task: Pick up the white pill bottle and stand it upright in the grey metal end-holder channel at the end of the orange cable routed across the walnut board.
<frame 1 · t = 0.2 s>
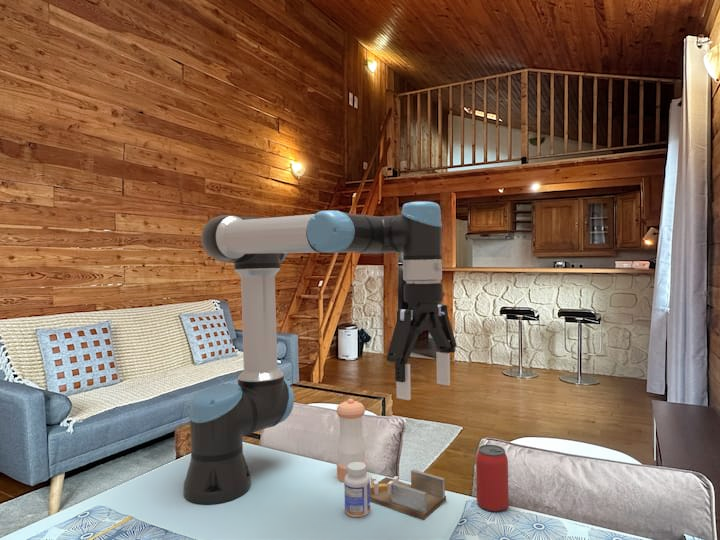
hand: (424, 391, 93), 27 cm above the table, fingers open, 13 cm apart
end holder: (418, 504, 103), resting on route board
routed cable: (382, 485, 108), on the route board, point 2 cm above the table
pepper shaker: (351, 477, 117), on the table
route board: (403, 499, 106), on the table
pill bottle: (357, 512, 101), on the table
beer can: (492, 505, 102), on the table
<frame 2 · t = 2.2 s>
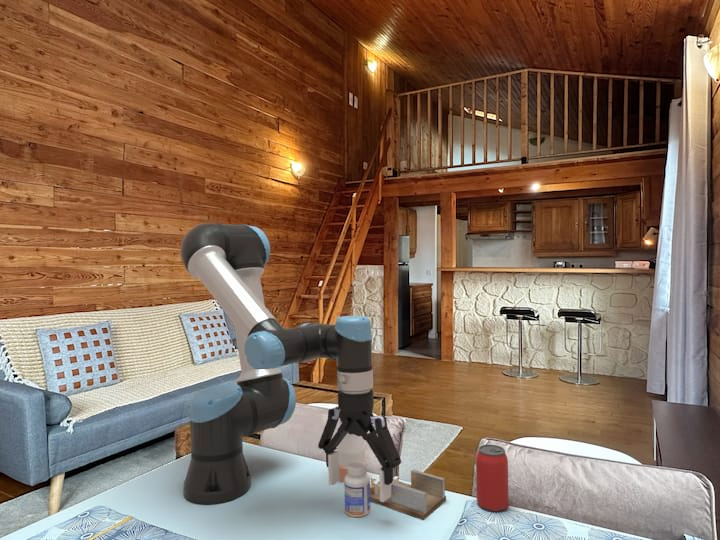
hand: (358, 490, 100), 4 cm above the table, fingers open, 13 cm apart
nothing on the table moved.
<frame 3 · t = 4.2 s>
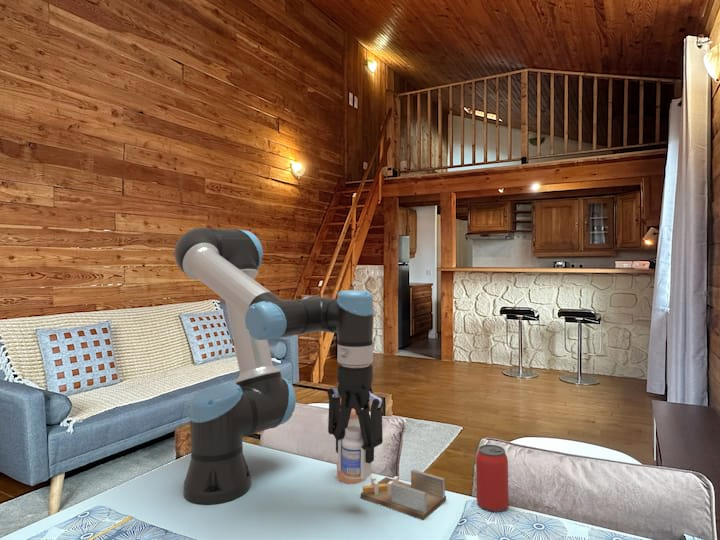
hand: (354, 472, 101), 8 cm above the table, fingers closed on pill bottle, 5 cm apart
pill bottle: (354, 475, 101), point 7 cm above the table, touching gripper
everything else where it was.
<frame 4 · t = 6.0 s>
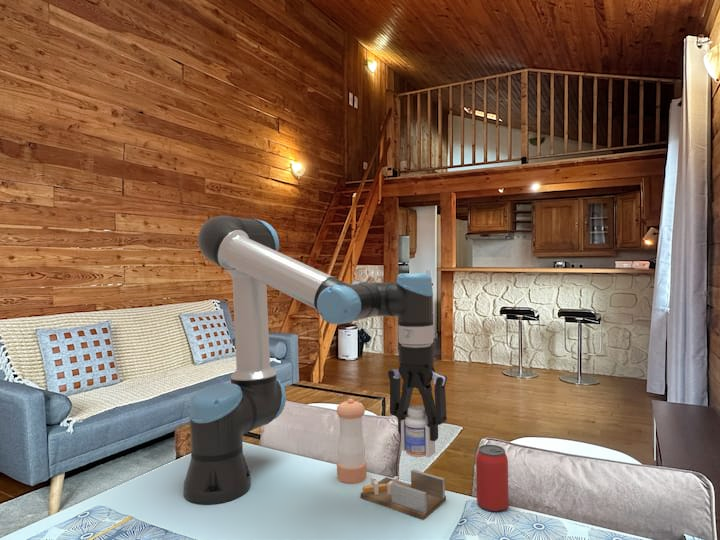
hand: (418, 451, 103), 11 cm above the table, fingers closed on pill bottle, 5 cm apart
pill bottle: (418, 453, 103), point 11 cm above the table, touching gripper
everything else where it was.
when the fingers open (2 cm above the table, at t = 7.8 s): pill bottle stays where it is, resting on route board.
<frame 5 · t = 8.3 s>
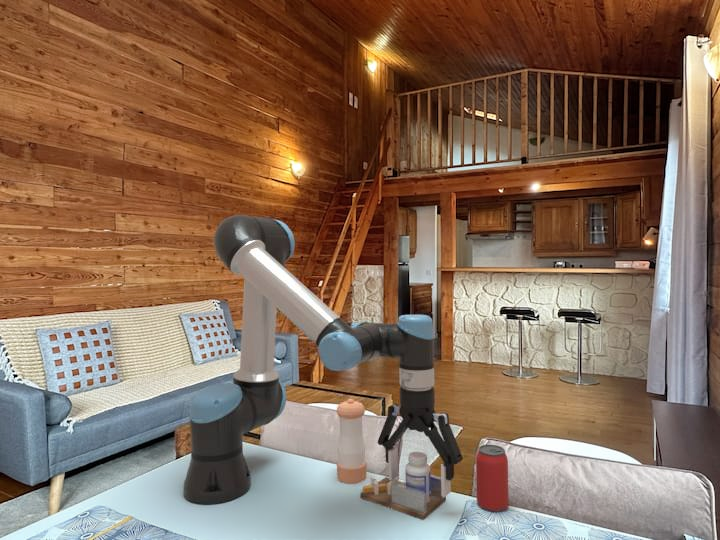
hand: (418, 485, 103), 4 cm above the table, fingers open, 12 cm apart
pill bottle: (418, 500, 103), point 1 cm above the table, touching route board
everything else where it was.
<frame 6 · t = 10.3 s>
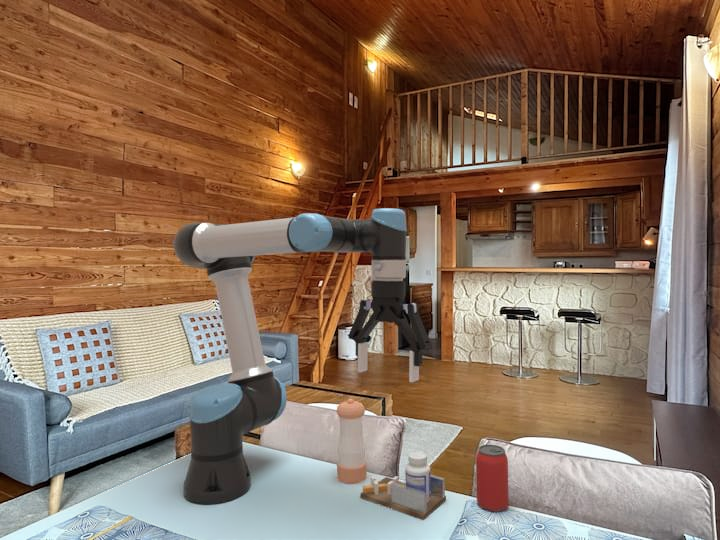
hand: (387, 376, 105), 27 cm above the table, fingers open, 13 cm apart
nothing on the table moved.
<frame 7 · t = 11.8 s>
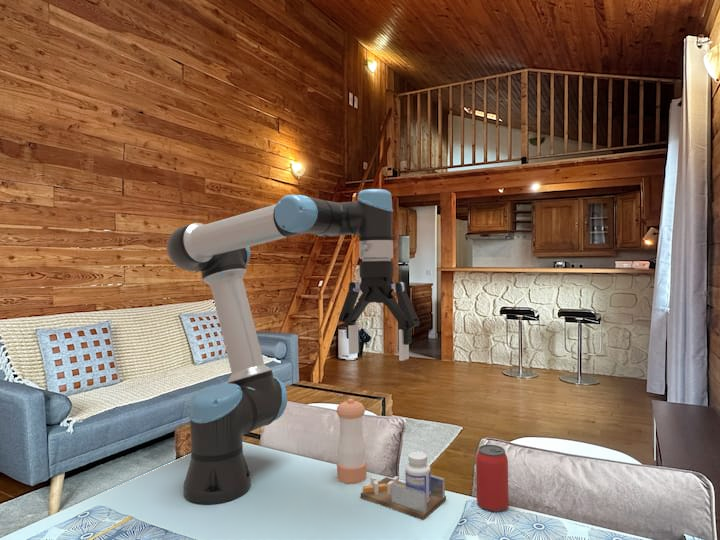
hand: (377, 356, 105), 32 cm above the table, fingers open, 13 cm apart
nothing on the table moved.
at the end: pill bottle inside the target area on the end holder (0.1 cm from its centre), point 0.8 cm above the end holder's base; pill bottle tilted 0°; the gripper is holding nothing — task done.
